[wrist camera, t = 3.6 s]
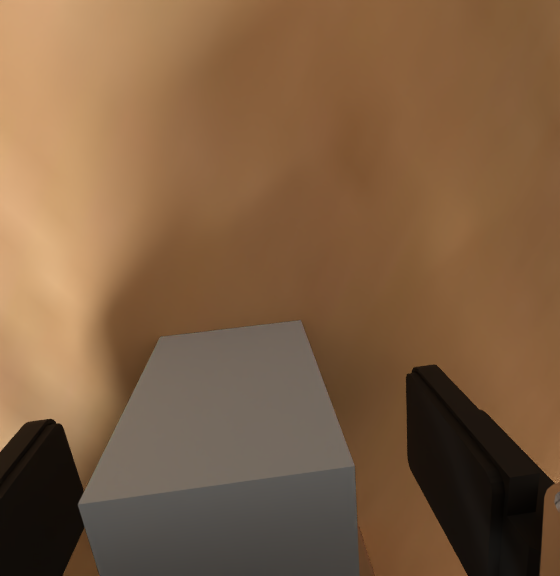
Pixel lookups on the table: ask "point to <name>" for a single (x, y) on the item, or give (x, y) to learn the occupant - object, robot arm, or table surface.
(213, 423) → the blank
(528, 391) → the table surface
